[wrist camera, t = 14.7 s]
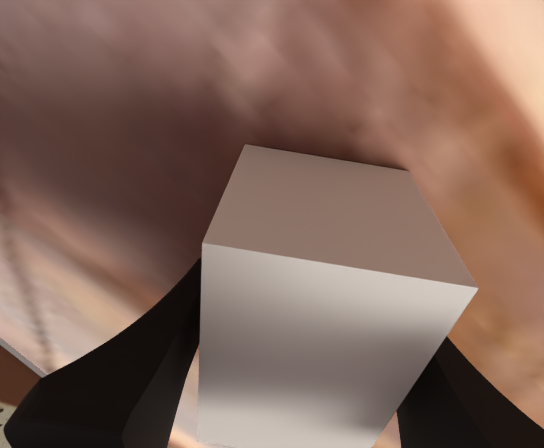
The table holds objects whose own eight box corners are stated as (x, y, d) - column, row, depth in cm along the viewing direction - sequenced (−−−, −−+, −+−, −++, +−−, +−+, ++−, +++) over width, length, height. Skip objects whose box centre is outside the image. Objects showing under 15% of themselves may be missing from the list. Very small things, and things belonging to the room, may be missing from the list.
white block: (409, 171, 13) (478, 288, 7) (343, 335, 18) (357, 467, 13) (244, 144, 13) (202, 242, 7) (228, 316, 18) (197, 441, 13)
